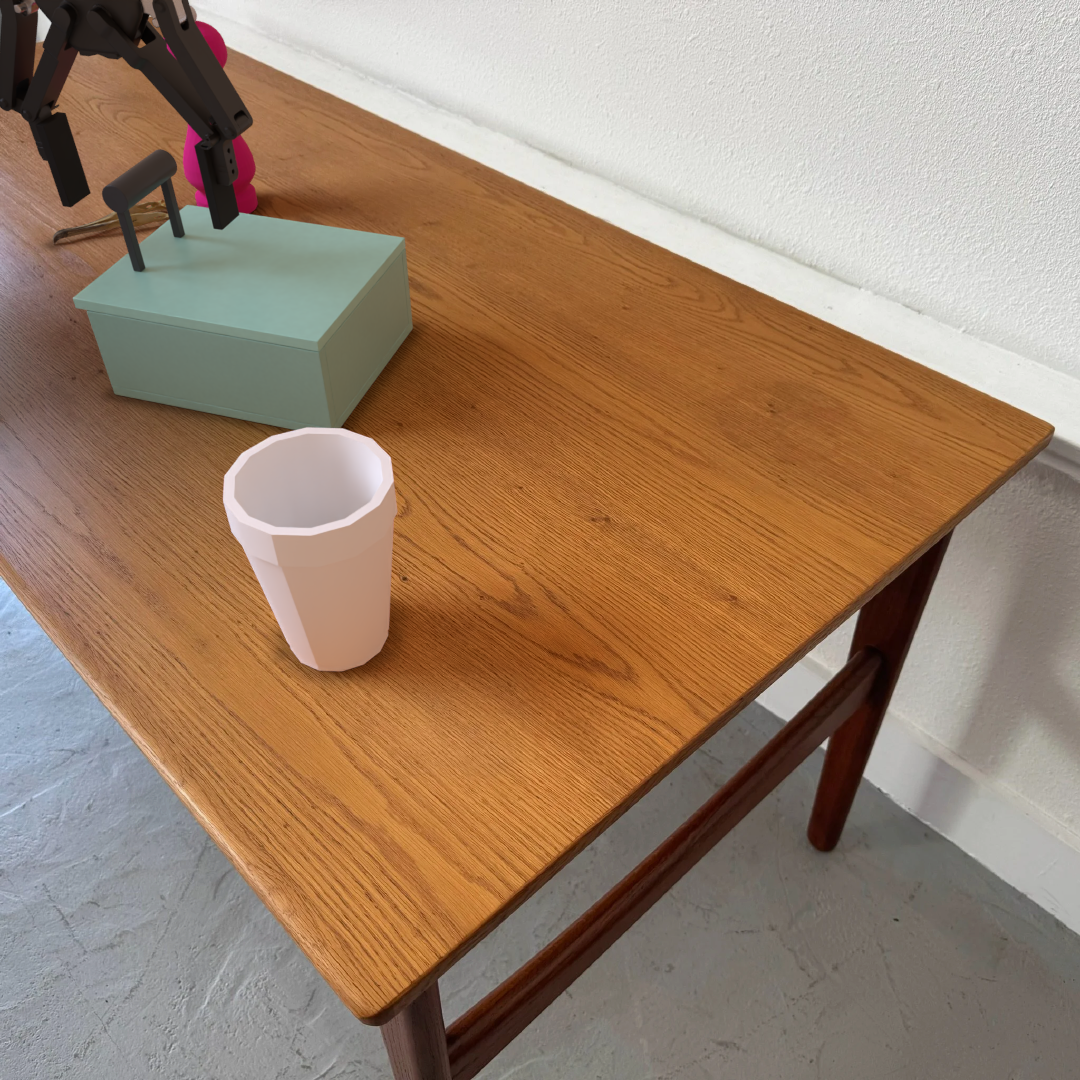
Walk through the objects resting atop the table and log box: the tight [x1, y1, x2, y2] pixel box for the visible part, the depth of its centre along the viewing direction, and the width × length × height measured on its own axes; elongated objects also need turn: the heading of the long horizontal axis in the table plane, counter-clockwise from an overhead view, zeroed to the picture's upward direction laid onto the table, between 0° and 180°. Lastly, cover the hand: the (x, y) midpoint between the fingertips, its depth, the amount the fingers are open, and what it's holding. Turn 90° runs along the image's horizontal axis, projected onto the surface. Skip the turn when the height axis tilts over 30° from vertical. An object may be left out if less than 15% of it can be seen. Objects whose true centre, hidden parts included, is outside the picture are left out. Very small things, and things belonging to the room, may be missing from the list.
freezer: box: [86, 247, 414, 431], centre depth 86 cm, size 20×17×8 cm
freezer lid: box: [72, 148, 407, 352], centre depth 81 cm, size 21×17×8 cm
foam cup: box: [222, 427, 398, 672], centre depth 62 cm, size 10×9×13 cm
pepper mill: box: [162, 5, 259, 214], centre depth 103 cm, size 7×7×20 cm
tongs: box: [52, 198, 181, 245], centre depth 106 cm, size 4×13×2 cm, turn 126°
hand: (150, 211), depth 82 cm, fingers open, 13 cm apart
